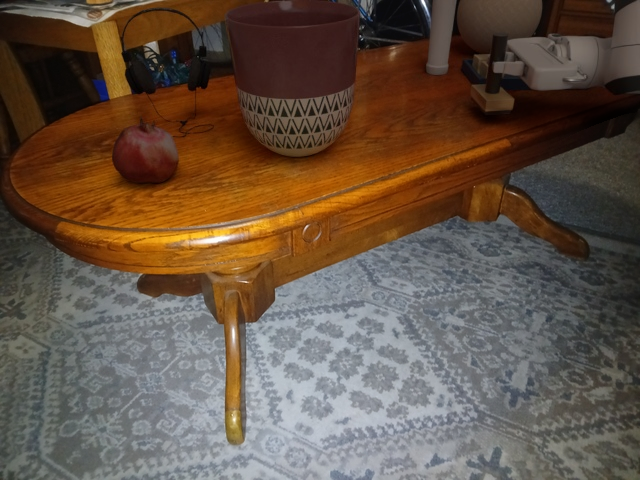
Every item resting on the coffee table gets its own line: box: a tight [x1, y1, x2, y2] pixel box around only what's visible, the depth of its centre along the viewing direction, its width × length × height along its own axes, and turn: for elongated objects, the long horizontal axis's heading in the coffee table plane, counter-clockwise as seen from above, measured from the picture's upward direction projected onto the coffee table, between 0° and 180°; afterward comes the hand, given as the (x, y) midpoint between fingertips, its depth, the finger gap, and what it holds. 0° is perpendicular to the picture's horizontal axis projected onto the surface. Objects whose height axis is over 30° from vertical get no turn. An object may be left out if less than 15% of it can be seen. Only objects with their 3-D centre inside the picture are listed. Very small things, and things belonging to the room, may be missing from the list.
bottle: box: [425, 0, 457, 76], centre depth 114 cm, size 5×5×25 cm
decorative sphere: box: [456, 0, 543, 54], centre depth 128 cm, size 20×20×20 cm
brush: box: [469, 33, 515, 116], centre depth 92 cm, size 5×9×13 cm, turn 3°
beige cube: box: [480, 61, 505, 78], centre depth 112 cm, size 4×4×4 cm
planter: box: [224, 0, 361, 158], centre depth 80 cm, size 20×20×21 cm
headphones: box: [119, 6, 215, 138], centre depth 90 cm, size 15×11×20 cm
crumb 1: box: [472, 53, 490, 75], centre depth 116 cm, size 4×4×4 cm
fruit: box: [111, 116, 180, 184], centre depth 75 cm, size 9×10×10 cm
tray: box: [460, 58, 589, 91], centre depth 115 cm, size 24×16×2 cm, turn 90°
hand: (490, 63), depth 91 cm, fingers closed on brush, 2 cm apart
